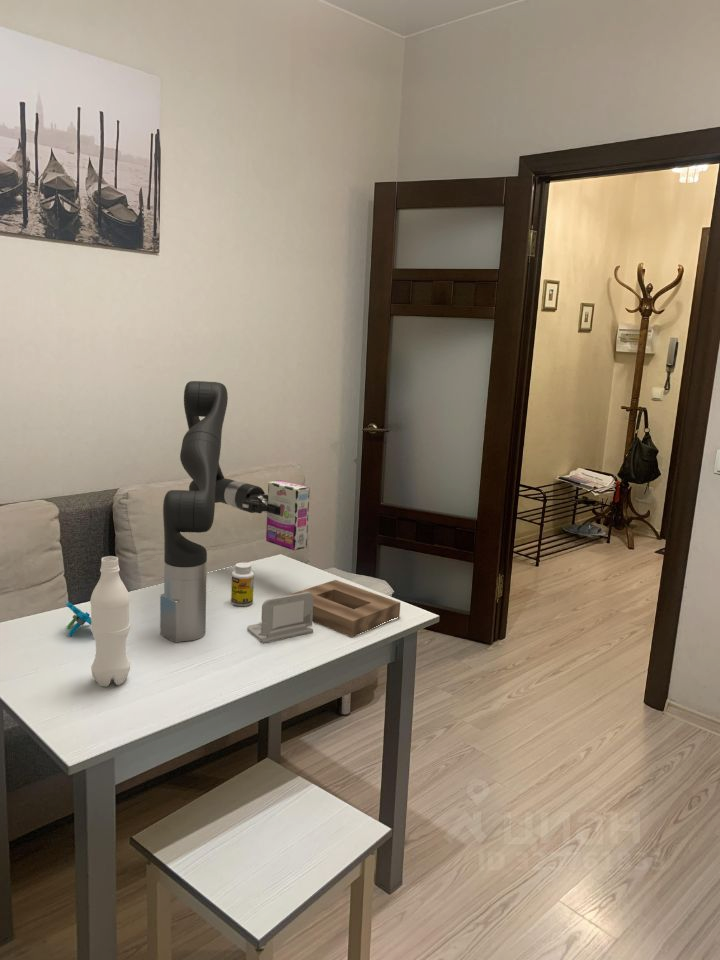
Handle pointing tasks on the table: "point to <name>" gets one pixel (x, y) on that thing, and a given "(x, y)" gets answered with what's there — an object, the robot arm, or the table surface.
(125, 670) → the water bottle
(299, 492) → the candy bar box
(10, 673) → the table surface
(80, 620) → the blue green plastic toy
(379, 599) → the walnut holder block
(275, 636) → the handheld gaming console
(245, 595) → the supplement bottle
